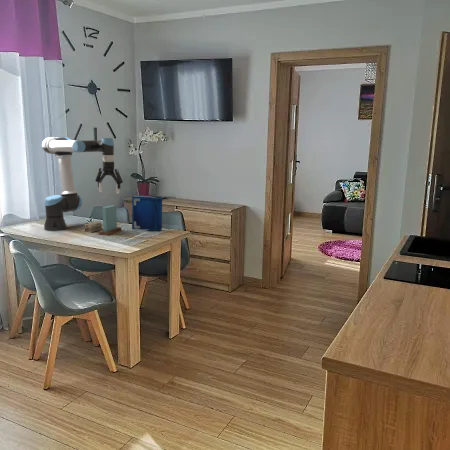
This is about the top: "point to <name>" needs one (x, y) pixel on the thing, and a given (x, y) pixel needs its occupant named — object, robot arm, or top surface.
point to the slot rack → (110, 232)
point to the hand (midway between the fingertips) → (109, 192)
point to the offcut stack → (93, 227)
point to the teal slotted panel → (109, 218)
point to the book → (147, 212)
